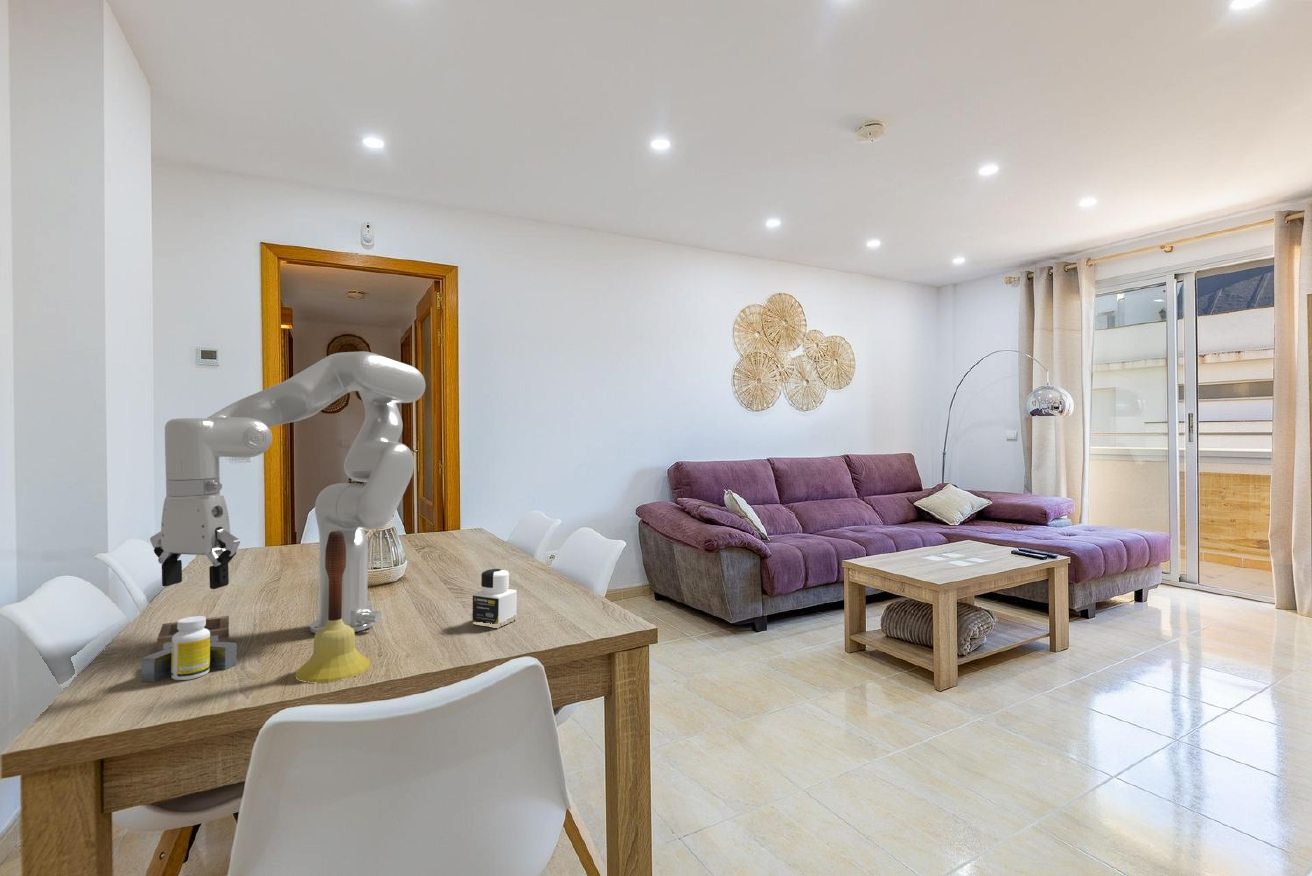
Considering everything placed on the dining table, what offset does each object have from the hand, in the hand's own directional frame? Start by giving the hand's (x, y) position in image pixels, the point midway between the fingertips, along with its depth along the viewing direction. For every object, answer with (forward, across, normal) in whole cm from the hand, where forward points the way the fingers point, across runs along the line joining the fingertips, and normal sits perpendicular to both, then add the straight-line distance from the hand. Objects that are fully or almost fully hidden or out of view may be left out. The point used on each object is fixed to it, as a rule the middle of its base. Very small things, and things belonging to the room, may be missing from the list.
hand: (195, 585), depth 107 cm
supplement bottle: (+16, 0, +1) cm, 16 cm away
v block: (+16, +3, -1) cm, 16 cm away
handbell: (+16, -22, -6) cm, 28 cm away
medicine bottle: (+17, -38, -38) cm, 57 cm away
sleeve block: (+16, +14, -12) cm, 24 cm away
